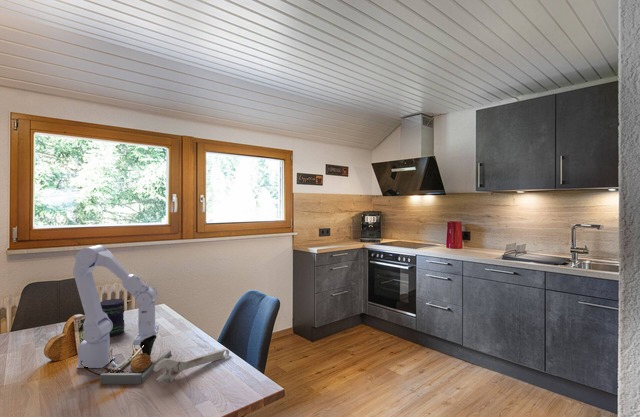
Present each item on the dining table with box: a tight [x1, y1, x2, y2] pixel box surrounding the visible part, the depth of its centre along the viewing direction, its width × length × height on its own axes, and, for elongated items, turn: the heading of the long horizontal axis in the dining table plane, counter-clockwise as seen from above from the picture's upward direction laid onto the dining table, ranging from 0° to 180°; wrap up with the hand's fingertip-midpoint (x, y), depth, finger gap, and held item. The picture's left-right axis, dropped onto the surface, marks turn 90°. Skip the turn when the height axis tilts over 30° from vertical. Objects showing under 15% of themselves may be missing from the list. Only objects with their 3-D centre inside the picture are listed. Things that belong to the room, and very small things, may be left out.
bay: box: [99, 349, 172, 385], centre depth 122 cm, size 13×23×3 cm, turn 0°
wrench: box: [153, 348, 230, 383], centre depth 120 cm, size 8×2×30 cm
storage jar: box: [100, 298, 125, 339], centre depth 154 cm, size 10×10×15 cm
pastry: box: [129, 352, 152, 373], centre depth 122 cm, size 9×7×4 cm
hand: (146, 356), depth 128 cm, fingers closed
